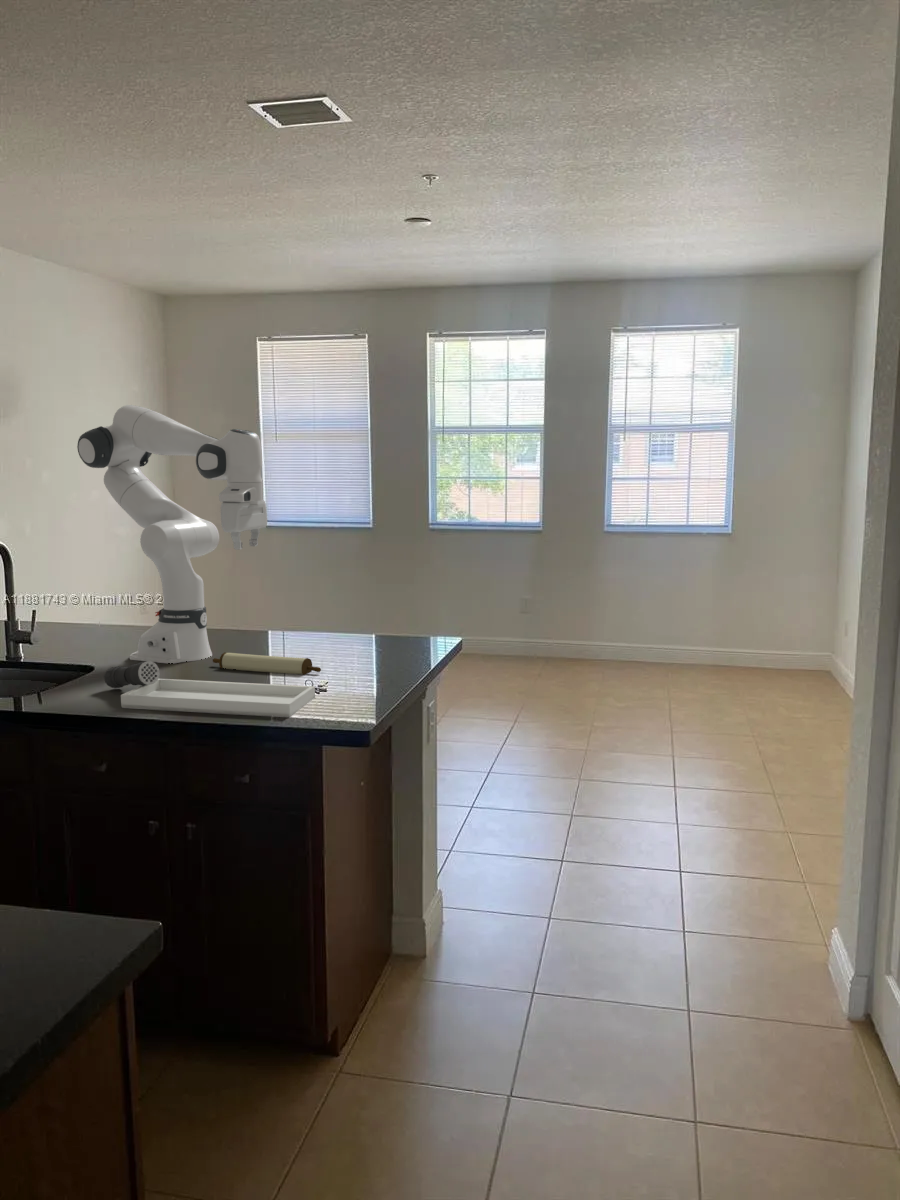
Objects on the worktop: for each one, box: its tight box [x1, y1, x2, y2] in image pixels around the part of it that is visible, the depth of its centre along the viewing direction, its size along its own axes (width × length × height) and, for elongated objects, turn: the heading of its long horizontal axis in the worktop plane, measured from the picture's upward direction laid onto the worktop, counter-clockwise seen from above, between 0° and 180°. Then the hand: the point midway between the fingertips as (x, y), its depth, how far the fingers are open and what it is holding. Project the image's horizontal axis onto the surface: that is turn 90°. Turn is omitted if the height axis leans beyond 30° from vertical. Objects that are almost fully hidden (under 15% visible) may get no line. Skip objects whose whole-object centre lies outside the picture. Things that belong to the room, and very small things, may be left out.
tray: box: [120, 678, 316, 718], centre depth 200 cm, size 40×16×3 cm, turn 79°
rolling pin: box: [212, 652, 322, 676], centre depth 230 cm, size 32×6×5 cm, turn 72°
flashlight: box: [103, 661, 160, 689], centre depth 208 cm, size 15×5×5 cm
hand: (246, 547), depth 225 cm, fingers open, 8 cm apart
